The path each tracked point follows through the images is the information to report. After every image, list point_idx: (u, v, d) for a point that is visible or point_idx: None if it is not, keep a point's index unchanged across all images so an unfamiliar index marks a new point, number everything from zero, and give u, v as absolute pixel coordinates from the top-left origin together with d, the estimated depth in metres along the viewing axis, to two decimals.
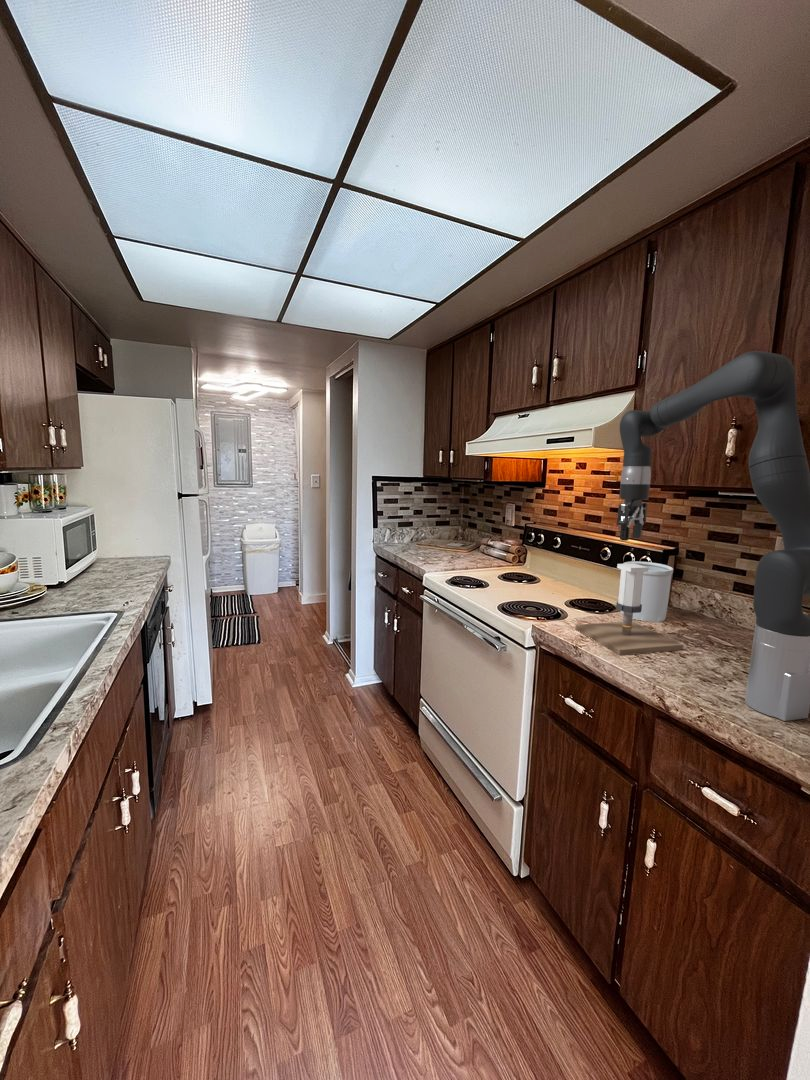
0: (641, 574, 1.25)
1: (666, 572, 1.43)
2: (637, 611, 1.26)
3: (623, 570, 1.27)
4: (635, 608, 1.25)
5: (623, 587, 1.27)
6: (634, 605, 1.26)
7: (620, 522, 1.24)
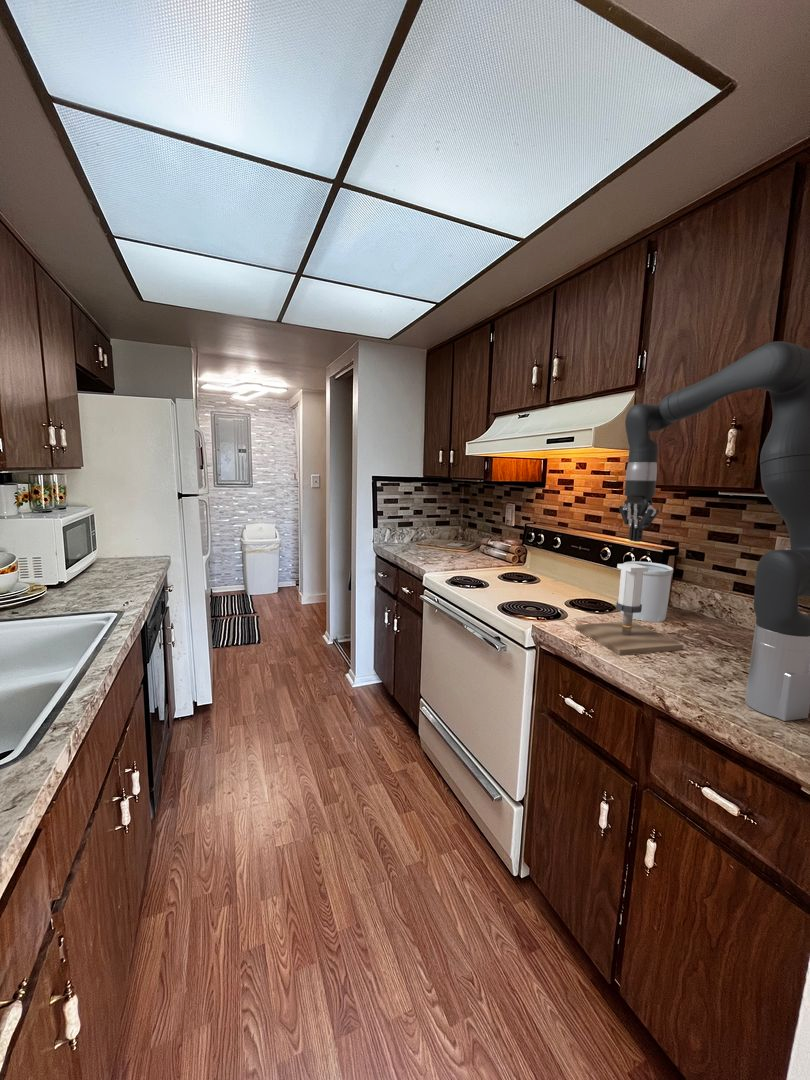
0: (641, 574, 1.25)
1: (666, 572, 1.43)
2: (637, 611, 1.26)
3: (623, 570, 1.27)
4: (635, 608, 1.25)
5: (623, 587, 1.27)
6: (634, 605, 1.26)
7: (644, 524, 1.22)
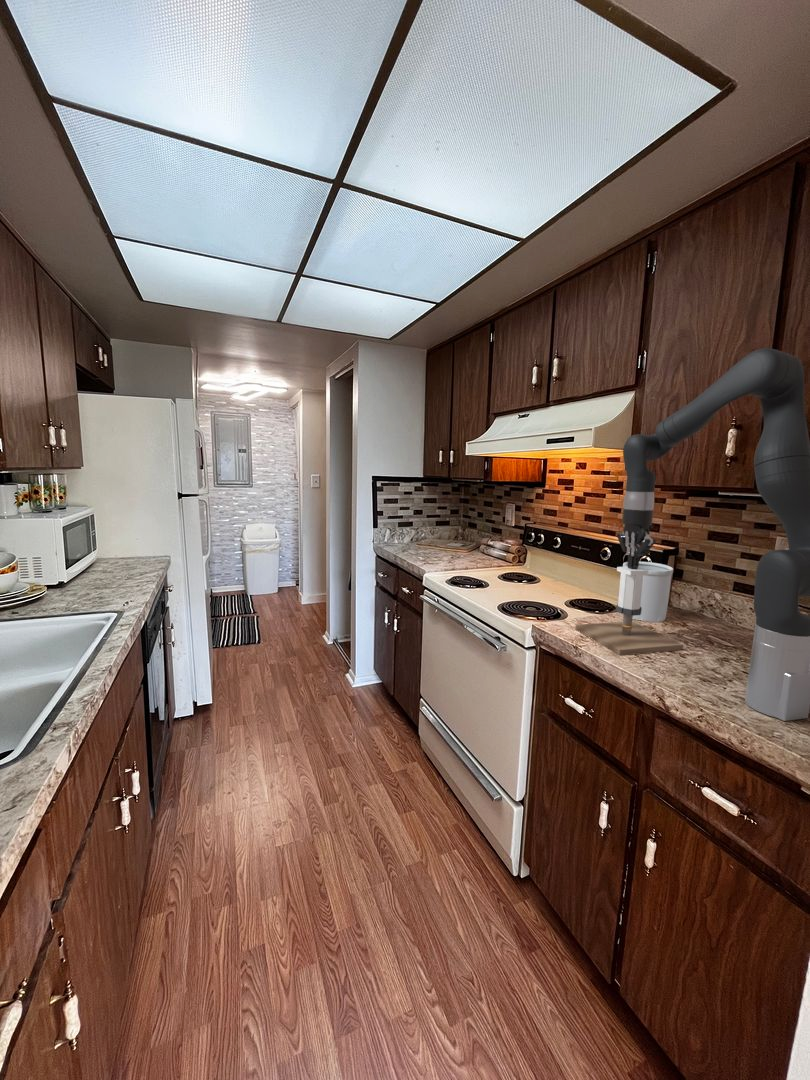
0: (641, 577, 1.25)
1: (666, 572, 1.43)
2: (637, 614, 1.26)
3: (623, 573, 1.27)
4: (635, 611, 1.26)
5: (623, 590, 1.27)
6: (634, 608, 1.26)
7: (641, 552, 1.23)
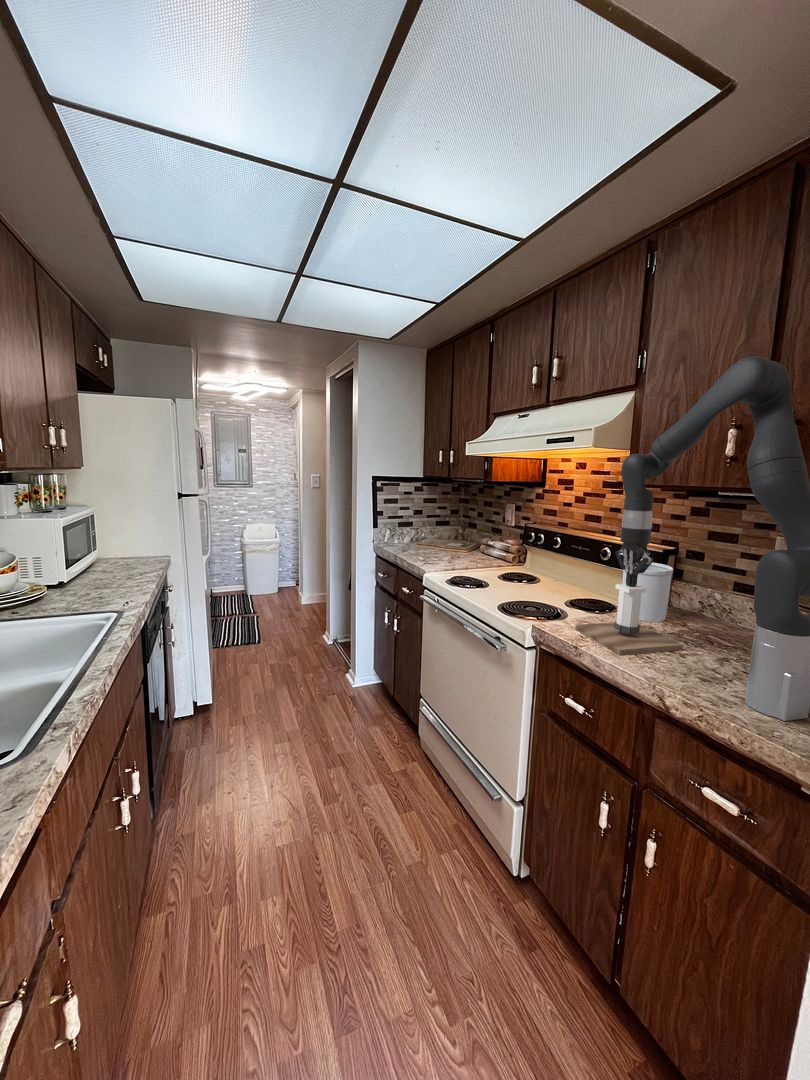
0: (639, 595, 1.26)
1: (666, 572, 1.43)
2: (635, 631, 1.27)
3: (621, 591, 1.28)
4: (633, 628, 1.26)
5: (622, 607, 1.28)
6: (632, 626, 1.27)
7: (639, 571, 1.24)
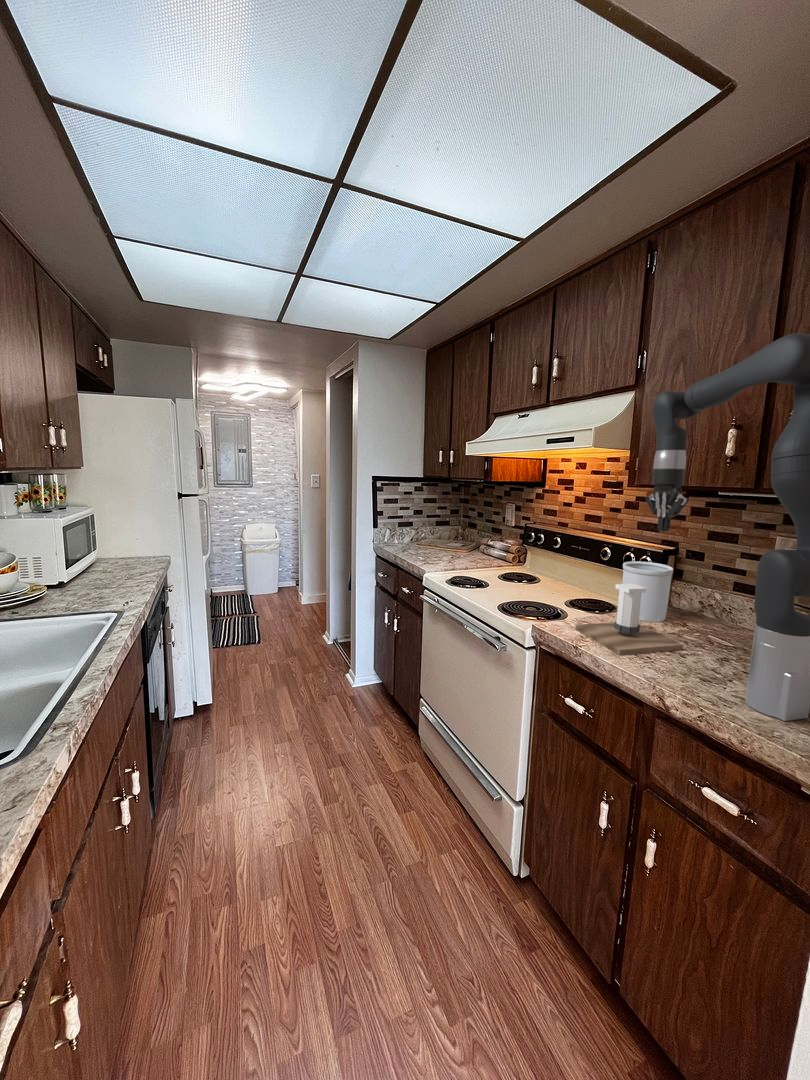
0: (639, 595, 1.26)
1: (666, 572, 1.43)
2: (635, 631, 1.27)
3: (621, 591, 1.28)
4: (633, 628, 1.26)
5: (622, 607, 1.28)
6: (632, 626, 1.27)
7: (673, 513, 1.20)
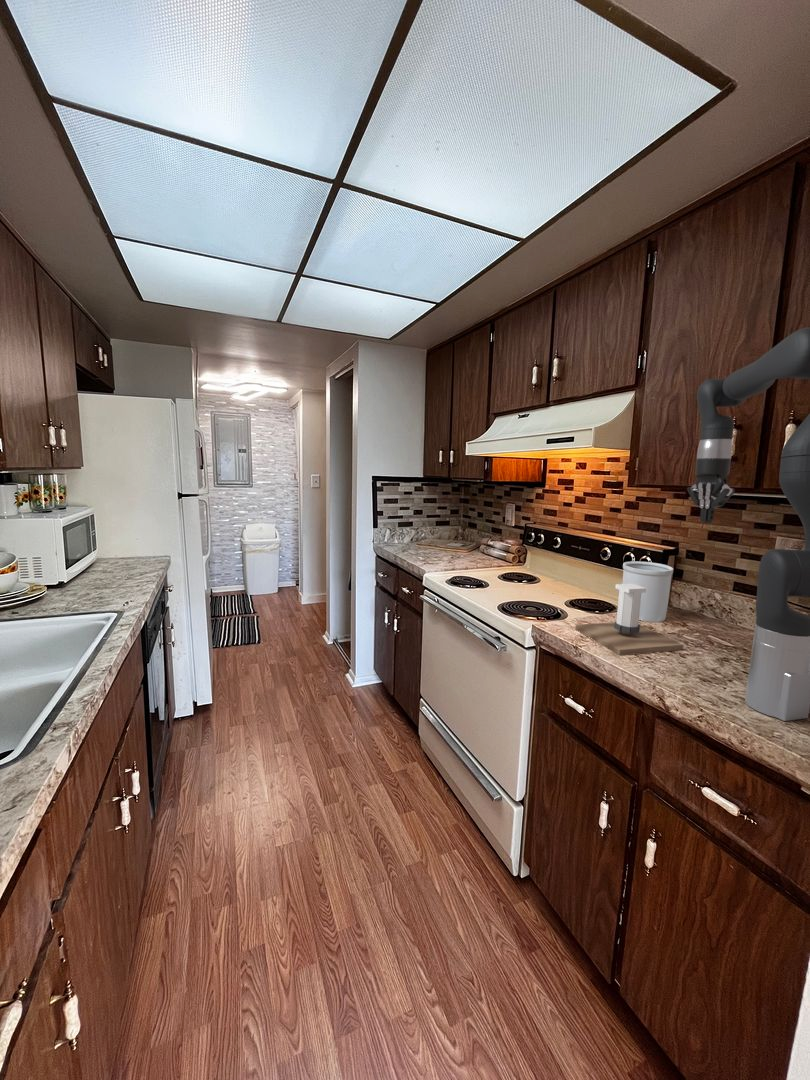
0: (639, 595, 1.26)
1: (666, 572, 1.43)
2: (635, 631, 1.27)
3: (621, 591, 1.28)
4: (633, 628, 1.26)
5: (622, 607, 1.28)
6: (632, 626, 1.27)
7: (718, 504, 1.17)
